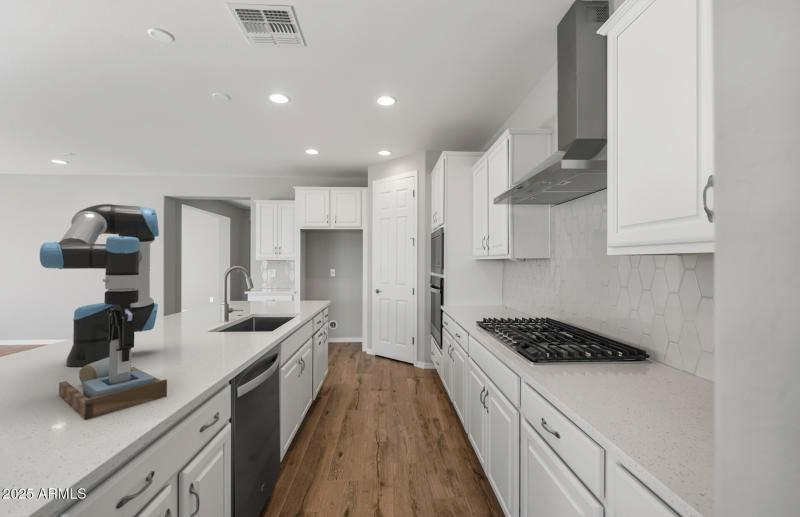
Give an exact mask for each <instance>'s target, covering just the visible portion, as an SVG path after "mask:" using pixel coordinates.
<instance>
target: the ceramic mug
mask: <svg viewBox="0 0 800 517" xmlns="http://www.w3.org/2000/svg"><path fill="white" fill-rule="evenodd" d="M109 360H110V357H108V358H105V359H102V360H99V361H96V362H93V363H90V364H88V365H86V366H83V367H81V369H80V370H79V371H78V372H79V374H78V378H79V381H80V383H81V384H83V382H84V381H89V380H94V379H98V378H103V377H107V376H109Z"/></svg>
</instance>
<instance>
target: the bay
mask: <svg viewBox="0 0 800 517" xmlns="http://www.w3.org/2000/svg"><path fill="white" fill-rule="evenodd" d="M135 370H140V369H138V368H136V367H135V366H131V371H135ZM58 383H59V384H58V396H59V397H60V398H61V399H62V400H63V401H64V402H65V403H66V404H68V406H69V407H70V408H72V409H73V411H75V412H76V413H77V414H78V415H79V416H80V417H81V418H83V419H84V420H85V421H87V420H90V419H93V418H97V417H100V416H103V415H107V414H110V413H114V412H118V411H121V410H124V409H128V408H131V407H134V406H138V405H142V404H145V403H149V402H151V401H154V400H159V399H162V398H166V397H167V394H168V379H162V380H161V379H159V378H157V377H155V382H153V383H149V384H145V385H141V386H137V387H133V388H129V389H125V390H121V391H117V392H114V393H110V394H106V395H102V396H98V397H94V398H90V399H88V398H87V397H86V396H84V395H83V392H81V391H80V390H78V389H77V388H76V387H74V386H73V385H72V384H71V383H70V382H68V381H67V380H66V381H61V382H58Z"/></svg>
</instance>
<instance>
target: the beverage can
mask: <svg viewBox="0 0 800 517" xmlns="http://www.w3.org/2000/svg"><path fill="white" fill-rule="evenodd" d="M116 349H119V339H115V340H112V341H111V343H110V360H109V382H110V383H111V384H119V383H123V382H127V381H129V380H130V379H131V367H132V356H131V357H130V372H125V373H121V374H117V364H118V351H116ZM132 349H133V348H131V351H132Z"/></svg>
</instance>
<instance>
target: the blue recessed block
mask: <svg viewBox="0 0 800 517" xmlns="http://www.w3.org/2000/svg"><path fill="white" fill-rule="evenodd" d="M155 378H156V376H153V375H152V374H149V373H147V372H146V371H144V370H141V369H139V370H135V371H131V379H130V380H129V381H127V382H123V383H119V384H111V383H110V382H109V376H107V377H103V378H98V379H94V380H89V381H84V382H83V383H82V384H83V385H82V394H83V395H84V396H86V397H87V398H88V399H90V398H94V397H98V396H102V395H106V394H110V393H114V392H117V391H121V390H125V389H129V388H133V387H137V386H141V385H145V384H149V383H153V382H155Z"/></svg>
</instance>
